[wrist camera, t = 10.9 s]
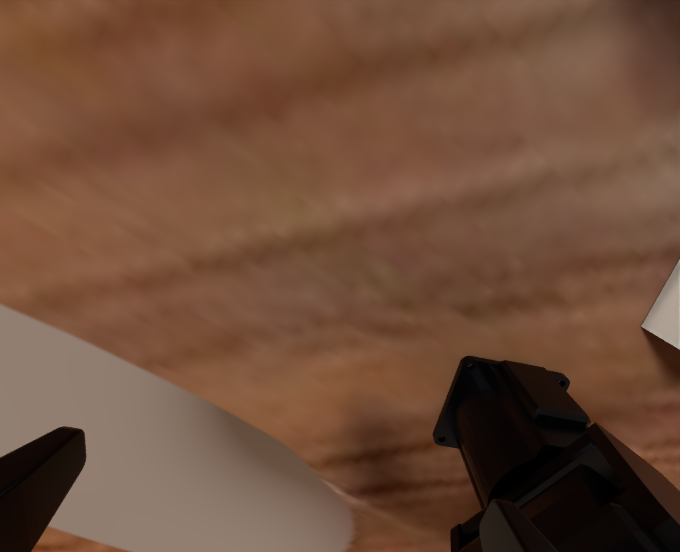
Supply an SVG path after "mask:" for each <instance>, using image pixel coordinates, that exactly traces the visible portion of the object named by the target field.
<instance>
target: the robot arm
mask: <svg viewBox="0 0 680 552" xmlns="http://www.w3.org/2000/svg"><path fill="white" fill-rule="evenodd" d="M468 364H472V366H470V367H466V366H467V365H468ZM559 381H560V382H559ZM558 382H559V383H558ZM569 384H570V381H569V379H568V378H567V377H566V376H565V375H564V374H562V373H558V372H553V371H548V370H546V369H545V368H543V367H538V366H533V365H528V364H522V363H517V362H512V361H507V360H504V361H495V360H490V359H484V358H479V357H474V356H466V357H464V358H463V359H462V360H461V361H460V364H459V366H458V369H457V372H456V374H455V377H454V379H453V382H452V385H451V387H450V390H449V392H448V395H447V398H446V400H445V403H444V405H443V408H442V411H441V413H440V416H439V419H438V421H437V424H436V426H435V429H434V432H433V438H434V441H435V443H436V444H438V445H441V446H447V447H453V448H458V449H459V450H460V453H461V455H462V458H463V461H464V463H465V466H466V469H467V471H468V474H469V477H470V479H471V482H472V485H473V487H474V490H475V493H476V495H477V498H478V501H479V503H480V506H481V509H482V510H481V511H479V512H478V513H477V514H475V515H474V516H473V517H471V518H470V519H469V520H467V521H466V522H465V523H463V524H458V525H457V526H455V527H454V528H452V529H451V552H680V491H679V490H678V489H677V488H676V487H675V486H674V485H673V484H672V483H671V482H669V481H668V480H667V479H666V478H665V477H664V476H663V475H662V474H661V473H660V472H659V471H658V470H656V469H655V468H654V467H652V466H651V465H650V464H649V463H647V462H646V461H645V460H644V459H642V458H641V457H640V456H638V455H637V454H636V453H635V452H633V451H632V450H631V449H629V448H628V447H627V446H626V445H624V444H623V443H622V442H621V441H619V440H618V439H617V438H615V437H614V436H613V435H612V434H610V433H609V432H608V431H606V430H605V429H604V428H603V427H601V426H600V425H599V424H598V423H596V422H595V423H594V424H593V425H591V426H590V427H588V426H589V424H590V422H591V421H590V419H589V417H588V415H587V414H586V413H585V412H584V411H583V410H582V408H581V407H580V406H579V405H578V404H577V403H576V402H575V401H574V400H573V399H572V397H571V396H570V395H569V394H568V393H567V392H566V391H567V389H568V387H569ZM441 436H443V437H441ZM85 462H86V445H85V433H84V431H83V430H82V429H78V428H72V427H60V428H57V429H55V430H53V431H51V432H49V433H47V434H45V435H43V436H41V437H39V438H38V439H36V440H34V441H32V442H30V443H28V444H26V445H24V446H22V447H20V448H18V449H16V450H14V451H12V452H10V453H8V454H6V455H4V456H2V457H0V552H31V551H32V549H33V548H34V546H35V545H36V543H37V542H38V540H39V539H40V537H41V536H42V534H43V532H44V531H45V529H46V527H47V526H48V524H49V523H50V521H51V519H52V518H53V516H54V515H55V513H56V511H57V510H58V508H59V506H60V505H61V503H62V502H63V500H64V498H65V497H66V495H67V494H68V492H69V490H70V489H71V487H72V485H73V483H74V482H75V480H76V479H77V477H78V476H79V474H80V472H81V471H82V469H83V467H84V465H85Z"/></svg>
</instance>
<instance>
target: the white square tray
mask: <svg viewBox="0 0 680 552" xmlns="http://www.w3.org/2000/svg"><path fill="white" fill-rule="evenodd" d="M641 327H643V328H644V329H646V330H648V331H649V332H651V333H653V334H654V335H656V336H658V337H659V338H661V339H663V340H664V341H666V342H668V343H669V344H671V345H673V346H674V347H676V348H678V349H679V350H680V259H679V261H678V263H677V265H676V266H675V268H674V270H673V272H672V273H671V275H670V277H669V279H668V280H667V282H666V284H665V286H664V287H663V289H662V291H661V293H660V294H659V296H658V298H657V299H656V301H655V303H654V305H653V306H652V308H651V310H650V312H649V313H648V315H647V317H646V319H645V320H644V322H643V324H642V326H641Z"/></svg>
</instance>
